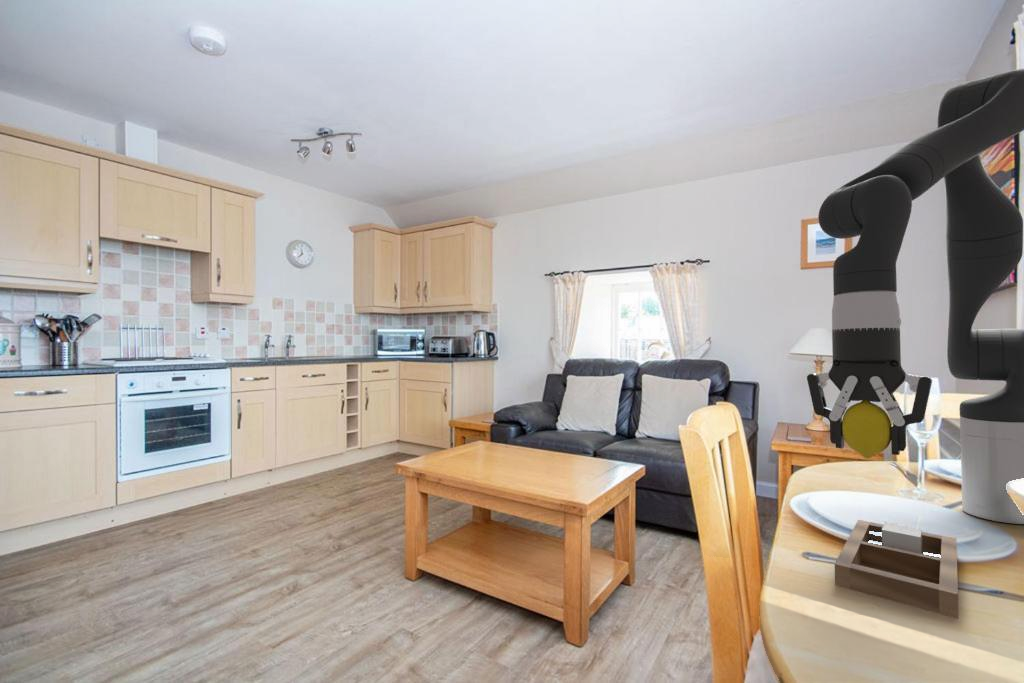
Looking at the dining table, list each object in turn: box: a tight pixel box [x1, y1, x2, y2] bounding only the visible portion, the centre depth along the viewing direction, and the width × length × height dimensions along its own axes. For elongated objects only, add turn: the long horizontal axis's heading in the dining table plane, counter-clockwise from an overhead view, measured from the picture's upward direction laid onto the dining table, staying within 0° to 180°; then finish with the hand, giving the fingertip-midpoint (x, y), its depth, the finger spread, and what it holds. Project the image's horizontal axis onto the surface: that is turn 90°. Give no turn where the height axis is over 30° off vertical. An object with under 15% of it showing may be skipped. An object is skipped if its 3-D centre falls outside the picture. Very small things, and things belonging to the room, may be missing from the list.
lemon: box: [842, 400, 892, 459], centre depth 65 cm, size 6×6×8 cm
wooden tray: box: [834, 519, 959, 619], centre depth 62 cm, size 20×11×4 cm, turn 137°
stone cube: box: [882, 521, 923, 554], centre depth 65 cm, size 4×4×4 cm
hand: (867, 450), depth 65 cm, fingers closed on lemon, 5 cm apart
